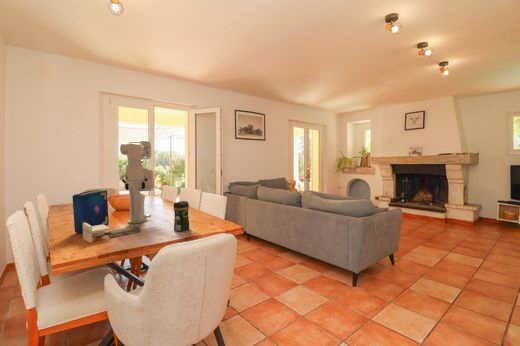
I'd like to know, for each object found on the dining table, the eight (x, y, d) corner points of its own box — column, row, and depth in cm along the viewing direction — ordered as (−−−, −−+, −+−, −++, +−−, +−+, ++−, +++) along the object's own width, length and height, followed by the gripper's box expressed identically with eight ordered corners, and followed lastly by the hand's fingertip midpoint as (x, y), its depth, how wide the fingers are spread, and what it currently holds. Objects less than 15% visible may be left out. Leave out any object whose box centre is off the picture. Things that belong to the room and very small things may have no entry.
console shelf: (103, 234, 155) (103, 219, 155) (110, 238, 147) (109, 223, 147) (83, 238, 147) (82, 222, 147) (89, 242, 139) (88, 226, 139)
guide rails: (133, 228, 168) (133, 227, 168) (140, 231, 161) (140, 230, 161) (103, 234, 155) (103, 232, 155) (109, 238, 148) (109, 236, 148)
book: (81, 234, 155) (80, 193, 154) (72, 233, 156) (70, 193, 155) (109, 225, 176) (108, 189, 175) (100, 225, 177) (99, 189, 176)
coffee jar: (181, 227, 172) (181, 200, 171) (191, 228, 168) (190, 200, 168) (171, 231, 163) (171, 202, 162) (181, 232, 160) (181, 203, 159)
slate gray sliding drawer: (136, 230, 167) (136, 224, 167) (140, 232, 162) (140, 226, 162) (108, 235, 155) (108, 229, 155) (112, 237, 150) (112, 231, 150)
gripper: (146, 162, 171) (146, 187, 172) (117, 162, 159) (118, 190, 160) (150, 162, 166) (151, 188, 167) (121, 162, 154) (122, 191, 155)
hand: (135, 189), depth 163 cm, fingers open, 9 cm apart
